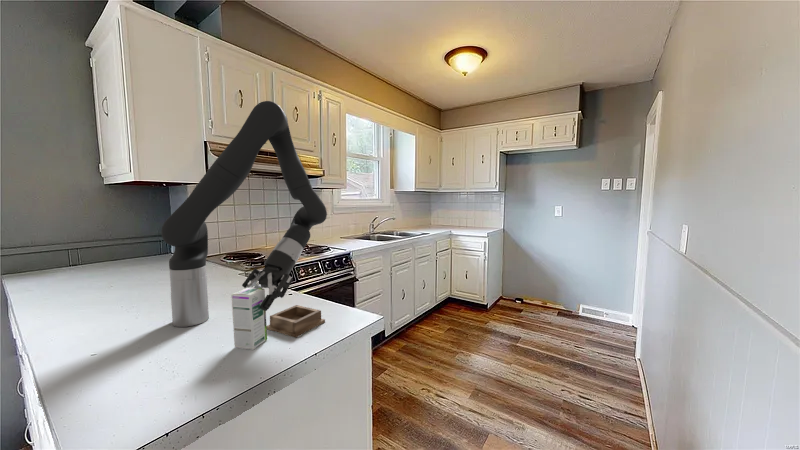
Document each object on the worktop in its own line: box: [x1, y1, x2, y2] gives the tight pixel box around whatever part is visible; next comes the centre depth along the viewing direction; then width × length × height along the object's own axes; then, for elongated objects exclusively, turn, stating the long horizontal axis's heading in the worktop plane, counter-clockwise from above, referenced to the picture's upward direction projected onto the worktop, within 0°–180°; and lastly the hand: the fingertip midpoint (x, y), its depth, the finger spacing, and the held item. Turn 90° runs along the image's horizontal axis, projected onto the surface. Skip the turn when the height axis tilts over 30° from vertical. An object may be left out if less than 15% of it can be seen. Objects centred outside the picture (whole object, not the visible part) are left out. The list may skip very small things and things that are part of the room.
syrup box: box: [230, 287, 268, 351], centre depth 80 cm, size 6×6×14 cm
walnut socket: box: [266, 304, 326, 339], centre depth 92 cm, size 12×12×4 cm
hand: (251, 306), depth 80 cm, fingers open, 8 cm apart
